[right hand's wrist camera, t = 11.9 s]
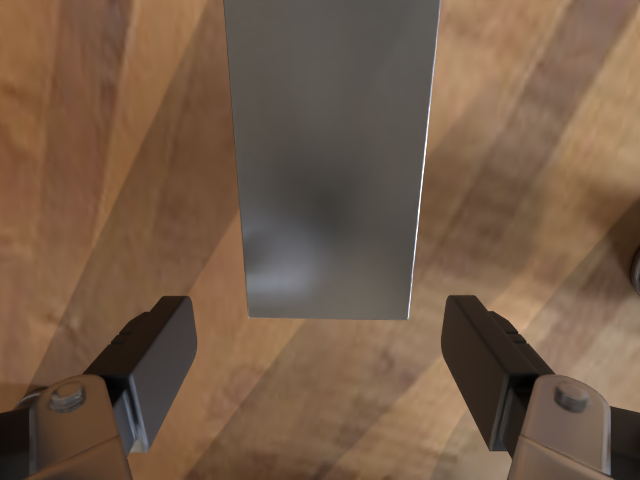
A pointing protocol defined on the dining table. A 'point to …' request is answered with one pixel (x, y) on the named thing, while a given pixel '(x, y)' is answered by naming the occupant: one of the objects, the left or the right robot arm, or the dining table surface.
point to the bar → (330, 151)
